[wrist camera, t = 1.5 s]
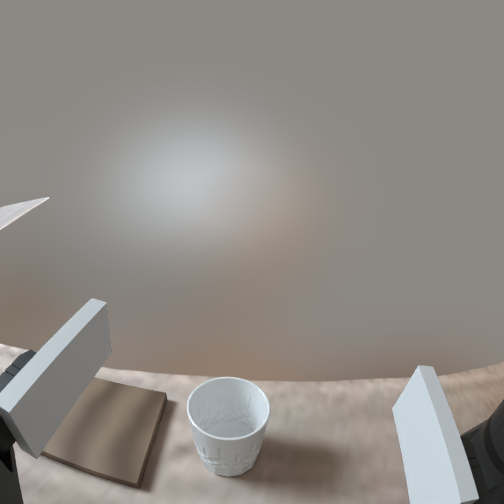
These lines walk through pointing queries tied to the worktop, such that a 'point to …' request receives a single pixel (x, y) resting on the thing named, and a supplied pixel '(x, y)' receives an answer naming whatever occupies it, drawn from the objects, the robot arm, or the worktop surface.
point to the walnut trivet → (109, 431)
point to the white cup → (228, 423)
